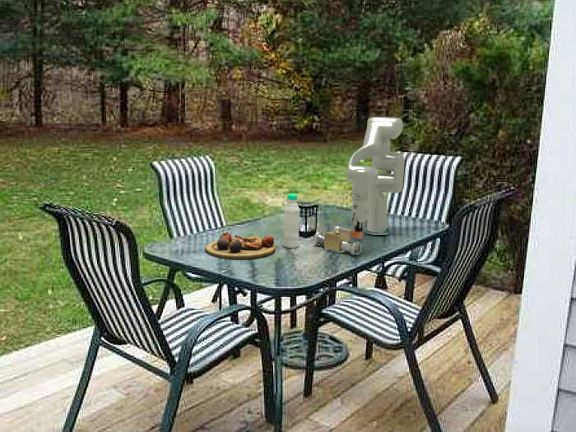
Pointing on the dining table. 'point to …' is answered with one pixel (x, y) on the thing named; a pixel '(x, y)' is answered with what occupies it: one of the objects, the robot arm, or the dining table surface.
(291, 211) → the water bottle
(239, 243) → the wooden plate with food
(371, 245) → the dining table surface
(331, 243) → the valve pipe
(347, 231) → the valve lever
